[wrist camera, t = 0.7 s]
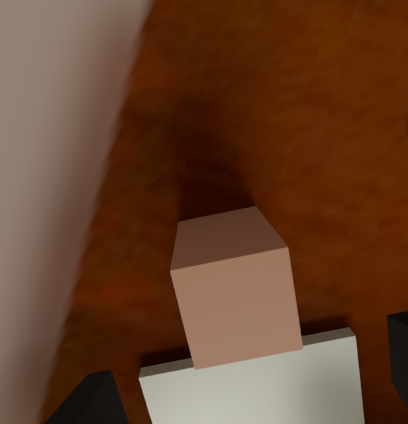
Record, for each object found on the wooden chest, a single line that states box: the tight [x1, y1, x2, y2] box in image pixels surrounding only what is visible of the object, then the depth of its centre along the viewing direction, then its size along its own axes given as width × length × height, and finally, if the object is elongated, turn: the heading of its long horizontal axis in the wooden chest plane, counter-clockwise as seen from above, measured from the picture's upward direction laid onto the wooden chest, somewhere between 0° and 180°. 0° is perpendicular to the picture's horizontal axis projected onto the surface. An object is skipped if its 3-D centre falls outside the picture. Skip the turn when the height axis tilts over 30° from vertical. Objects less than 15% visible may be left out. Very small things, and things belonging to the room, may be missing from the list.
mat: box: [139, 327, 365, 424], centre depth 20 cm, size 12×10×1 cm
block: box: [170, 206, 303, 370], centre depth 14 cm, size 4×4×6 cm
